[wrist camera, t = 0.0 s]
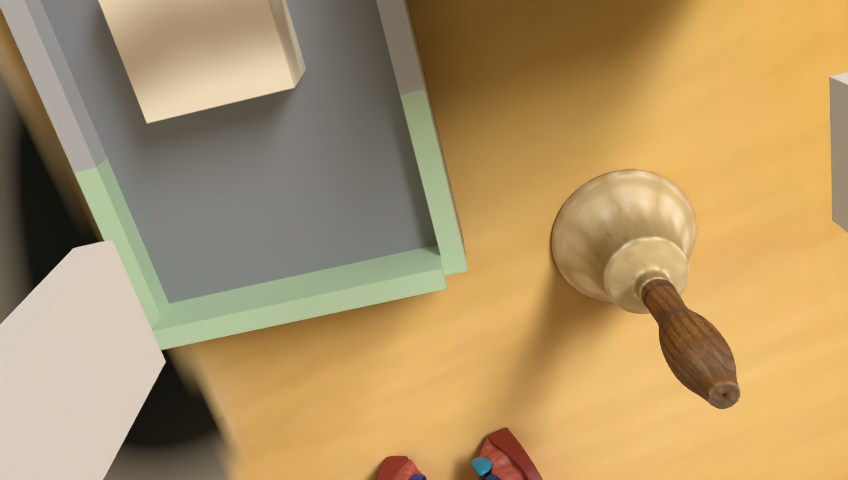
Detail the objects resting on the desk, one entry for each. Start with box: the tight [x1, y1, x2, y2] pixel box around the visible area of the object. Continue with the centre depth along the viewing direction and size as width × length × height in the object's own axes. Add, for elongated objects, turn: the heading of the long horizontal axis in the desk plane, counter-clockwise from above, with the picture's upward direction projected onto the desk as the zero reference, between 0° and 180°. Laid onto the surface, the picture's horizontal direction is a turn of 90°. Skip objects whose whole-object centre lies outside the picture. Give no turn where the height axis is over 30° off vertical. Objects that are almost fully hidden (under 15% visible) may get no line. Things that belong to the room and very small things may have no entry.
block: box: [98, 0, 306, 123], centre depth 35 cm, size 7×7×4 cm
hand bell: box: [552, 169, 740, 409], centre depth 38 cm, size 8×8×16 cm
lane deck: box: [0, 0, 468, 350], centre depth 37 cm, size 32×18×6 cm, turn 13°
